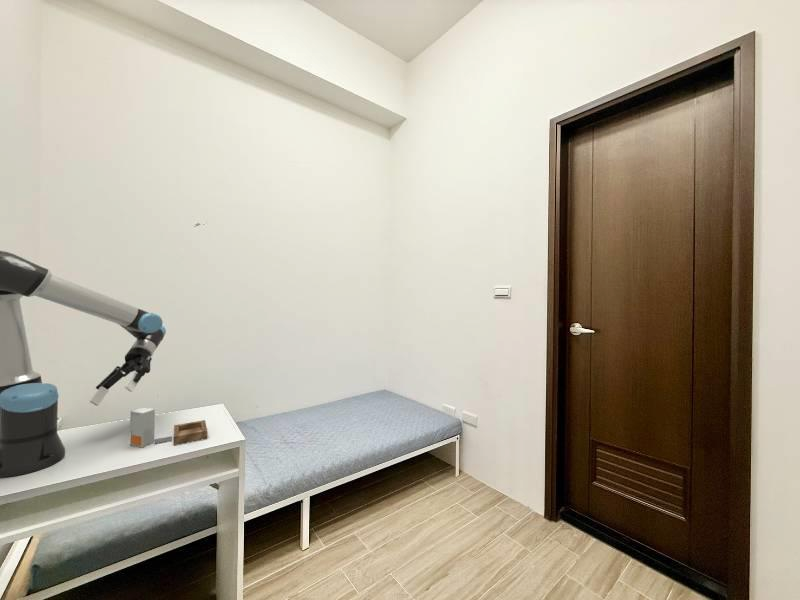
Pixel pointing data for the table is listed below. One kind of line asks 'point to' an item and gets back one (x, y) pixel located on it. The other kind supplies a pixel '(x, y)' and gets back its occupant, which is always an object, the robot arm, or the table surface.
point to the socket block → (190, 432)
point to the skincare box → (142, 427)
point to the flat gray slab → (163, 440)
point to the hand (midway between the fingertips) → (111, 396)
